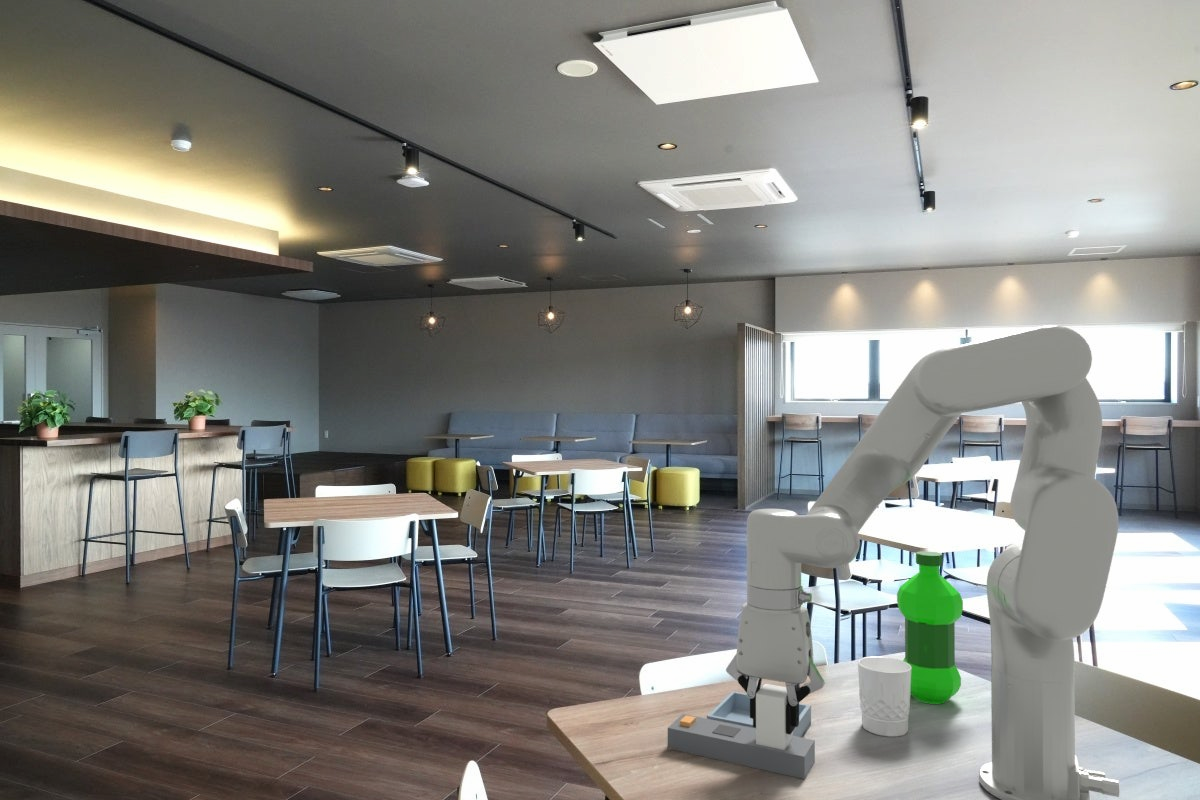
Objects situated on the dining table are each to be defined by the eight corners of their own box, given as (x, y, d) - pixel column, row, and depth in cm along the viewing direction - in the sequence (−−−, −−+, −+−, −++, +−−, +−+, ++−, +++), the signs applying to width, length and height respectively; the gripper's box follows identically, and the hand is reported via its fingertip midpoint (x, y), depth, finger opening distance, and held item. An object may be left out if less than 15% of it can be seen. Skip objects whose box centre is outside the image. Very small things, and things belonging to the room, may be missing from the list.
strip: (814, 761, 109) (814, 735, 109) (804, 779, 104) (804, 752, 104) (683, 733, 119) (683, 709, 119) (667, 748, 113) (667, 723, 113)
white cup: (854, 732, 119) (854, 667, 119) (862, 715, 126) (862, 653, 126) (908, 742, 116) (908, 675, 116) (914, 724, 122) (914, 660, 123)
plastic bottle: (887, 698, 134) (886, 553, 134) (915, 683, 141) (915, 546, 141) (945, 714, 126) (944, 561, 127) (972, 698, 133) (971, 553, 134)
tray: (811, 724, 122) (811, 705, 122) (791, 753, 112) (791, 732, 112) (732, 709, 128) (732, 691, 128) (706, 735, 118) (706, 715, 118)
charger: (793, 753, 110) (792, 688, 110) (784, 766, 106) (784, 698, 106) (765, 747, 112) (765, 683, 112) (756, 760, 108) (755, 693, 108)
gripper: (839, 598, 109) (840, 729, 108) (726, 585, 117) (726, 708, 116) (828, 610, 102) (829, 750, 102) (708, 596, 110) (708, 725, 110)
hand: (774, 726), depth 109 cm, fingers closed on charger, 3 cm apart
